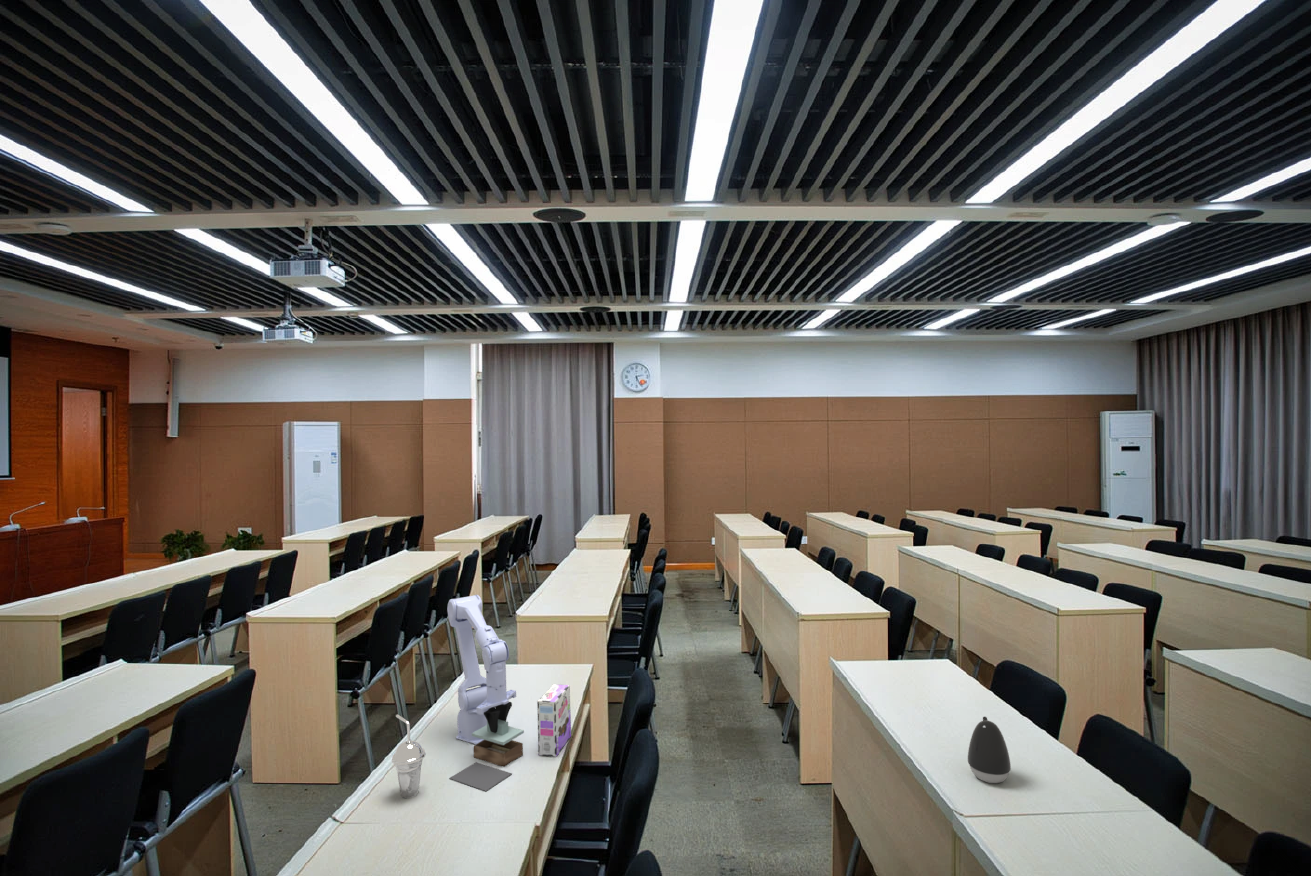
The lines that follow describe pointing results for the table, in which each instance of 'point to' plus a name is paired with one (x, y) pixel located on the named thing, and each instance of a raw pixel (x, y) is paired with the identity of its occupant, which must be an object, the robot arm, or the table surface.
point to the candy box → (554, 720)
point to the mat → (480, 776)
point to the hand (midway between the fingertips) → (497, 729)
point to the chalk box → (498, 752)
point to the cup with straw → (408, 764)
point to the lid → (498, 733)
